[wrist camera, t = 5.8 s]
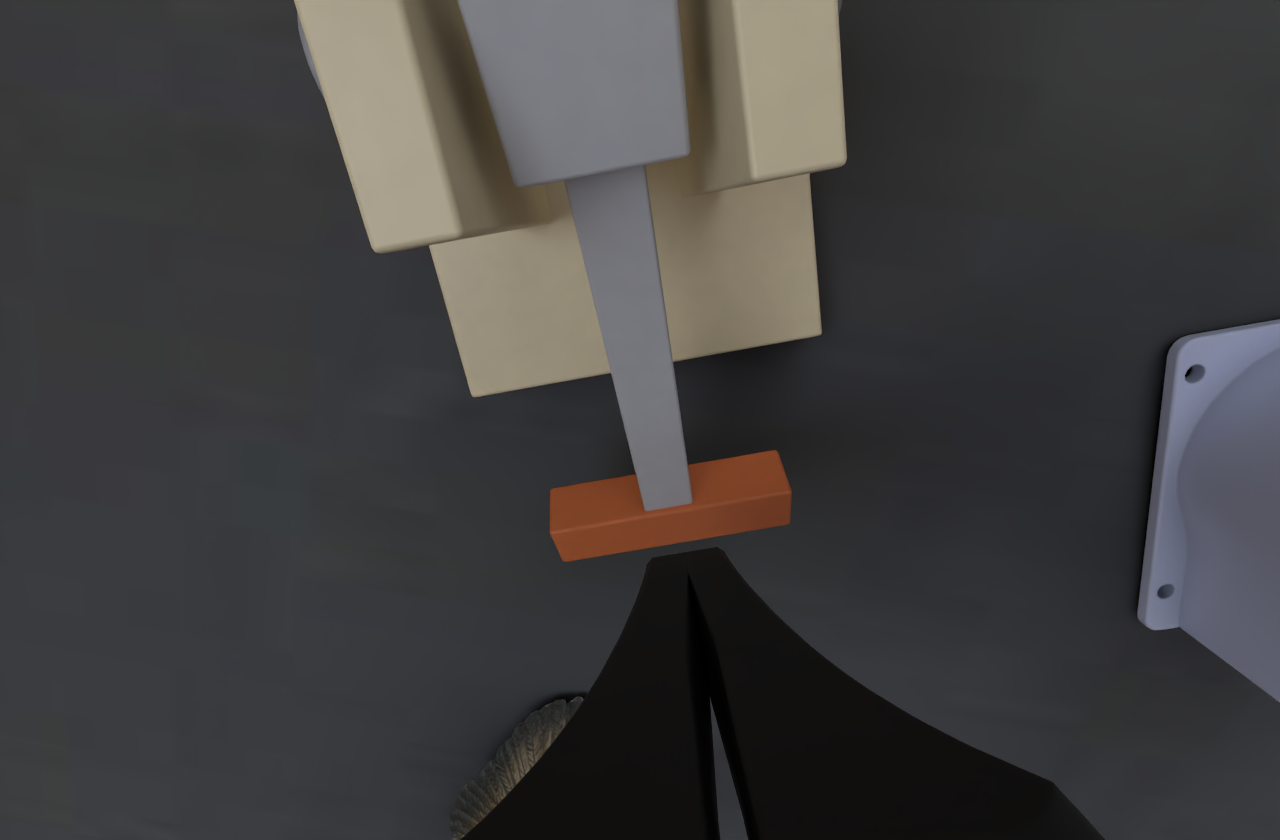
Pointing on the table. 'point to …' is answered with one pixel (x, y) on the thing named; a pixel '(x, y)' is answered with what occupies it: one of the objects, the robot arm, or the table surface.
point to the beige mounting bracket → (541, 215)
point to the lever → (617, 250)
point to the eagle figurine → (510, 764)
